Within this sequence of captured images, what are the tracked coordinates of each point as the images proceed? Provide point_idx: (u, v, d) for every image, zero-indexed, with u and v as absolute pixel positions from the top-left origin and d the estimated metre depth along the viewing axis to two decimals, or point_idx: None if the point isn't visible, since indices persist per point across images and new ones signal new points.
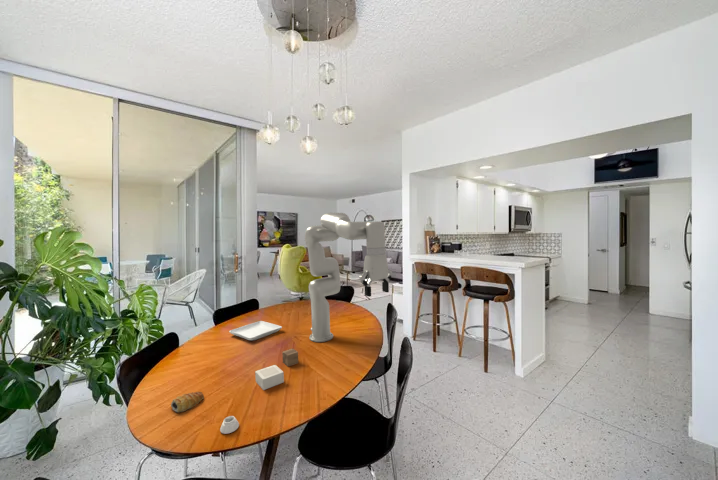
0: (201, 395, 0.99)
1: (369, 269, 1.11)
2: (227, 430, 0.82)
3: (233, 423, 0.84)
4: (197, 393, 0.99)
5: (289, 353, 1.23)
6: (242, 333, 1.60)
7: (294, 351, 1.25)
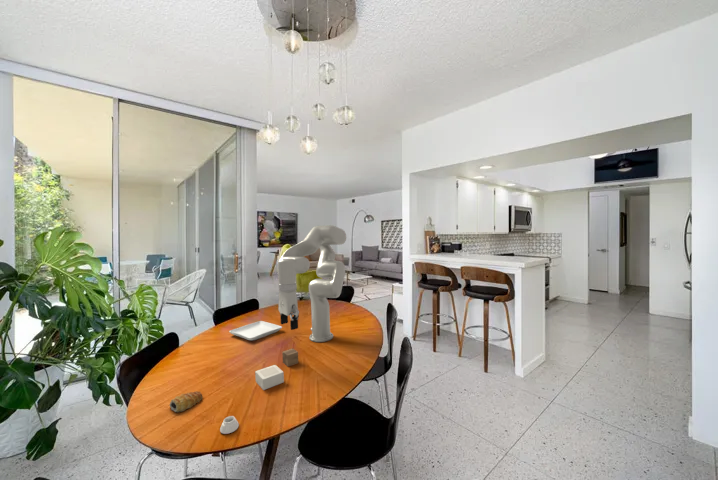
0: (200, 395, 0.99)
1: (296, 303, 1.21)
2: (227, 430, 0.82)
3: (233, 423, 0.84)
4: (196, 393, 0.99)
5: (289, 353, 1.23)
6: (242, 333, 1.60)
7: (294, 351, 1.25)
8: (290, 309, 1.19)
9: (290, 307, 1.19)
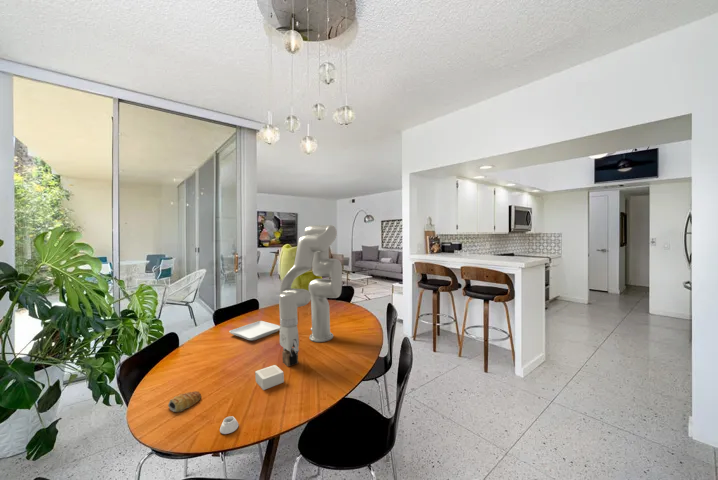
0: (198, 395, 0.99)
1: (297, 338, 1.21)
2: (227, 430, 0.82)
3: (233, 423, 0.84)
4: (194, 393, 1.00)
5: (289, 353, 1.23)
6: (242, 333, 1.60)
7: None
8: (291, 344, 1.20)
9: (291, 342, 1.20)
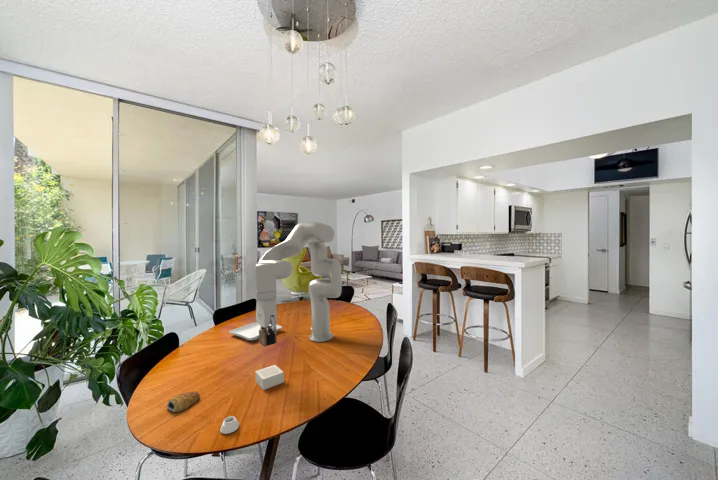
0: (197, 394, 0.99)
1: (275, 314, 1.06)
2: (227, 430, 0.82)
3: (233, 423, 0.84)
4: (193, 393, 1.00)
5: (266, 331, 1.07)
6: (242, 333, 1.60)
7: None
8: (268, 320, 1.04)
9: (268, 318, 1.04)
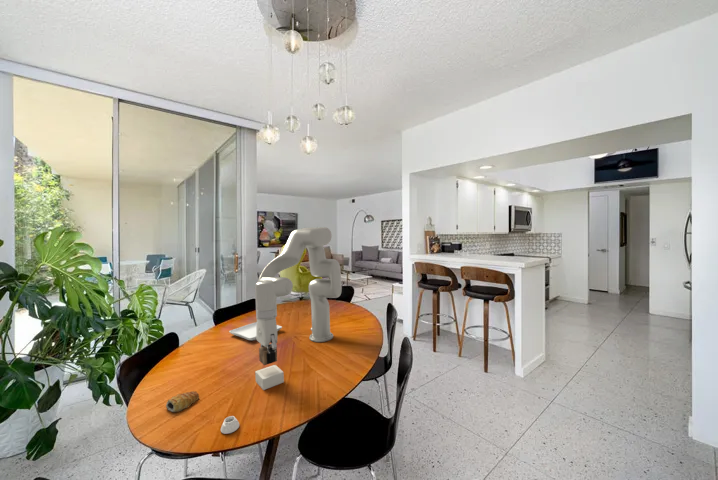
0: (196, 394, 1.00)
1: (275, 332, 1.06)
2: (227, 430, 0.82)
3: (233, 423, 0.84)
4: (192, 393, 1.00)
5: (266, 349, 1.07)
6: (242, 333, 1.60)
7: None
8: (268, 339, 1.04)
9: (268, 337, 1.04)
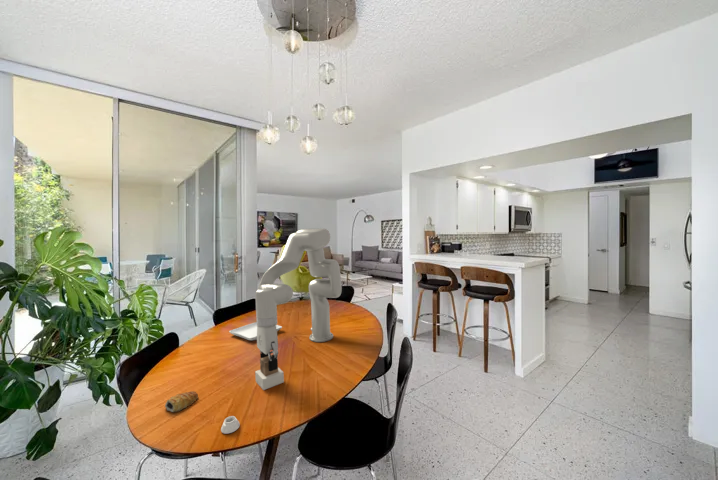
0: (195, 394, 1.00)
1: (276, 340, 1.06)
2: (228, 430, 0.82)
3: (234, 423, 0.84)
4: (191, 392, 1.00)
5: (267, 360, 1.08)
6: (242, 333, 1.60)
7: None
8: (269, 347, 1.04)
9: (269, 345, 1.04)
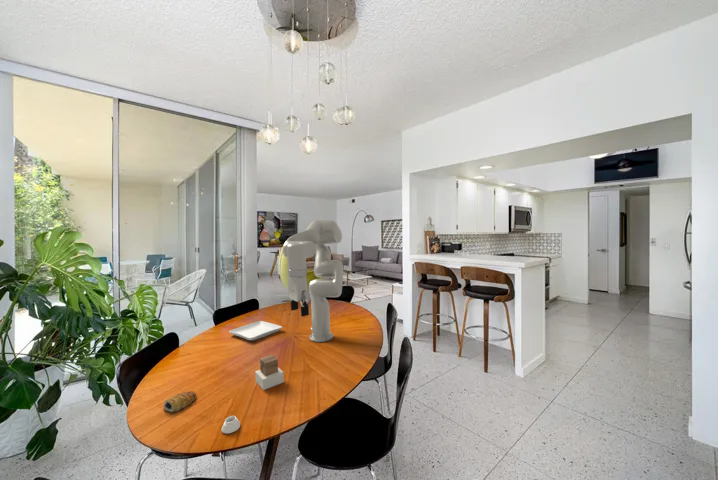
0: (194, 394, 1.00)
1: (306, 289, 1.16)
2: (228, 430, 0.82)
3: (234, 423, 0.84)
4: (190, 392, 1.00)
5: (267, 360, 1.08)
6: (242, 333, 1.60)
7: (273, 358, 1.10)
8: (300, 295, 1.15)
9: (300, 293, 1.15)
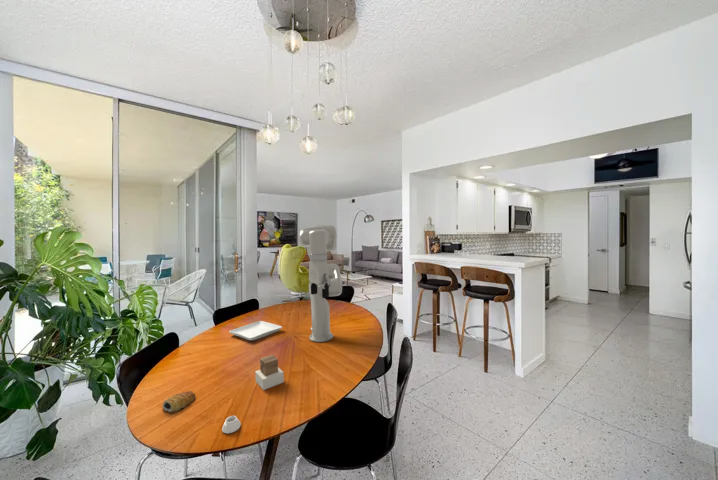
0: (193, 394, 1.00)
1: (327, 273, 1.24)
2: (229, 430, 0.82)
3: (235, 423, 0.84)
4: (188, 392, 1.00)
5: (267, 360, 1.08)
6: (242, 333, 1.60)
7: (273, 358, 1.10)
8: (322, 278, 1.23)
9: (322, 276, 1.23)
